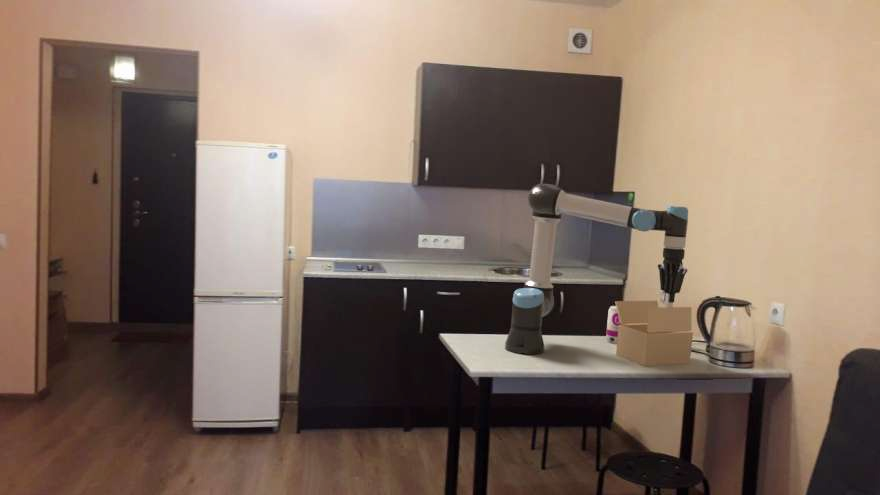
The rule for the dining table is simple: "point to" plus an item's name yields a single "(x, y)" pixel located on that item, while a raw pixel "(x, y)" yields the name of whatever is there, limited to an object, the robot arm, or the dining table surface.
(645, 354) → the carton
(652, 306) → the far flap
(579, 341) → the dining table surface
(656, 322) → the near flap
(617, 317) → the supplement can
